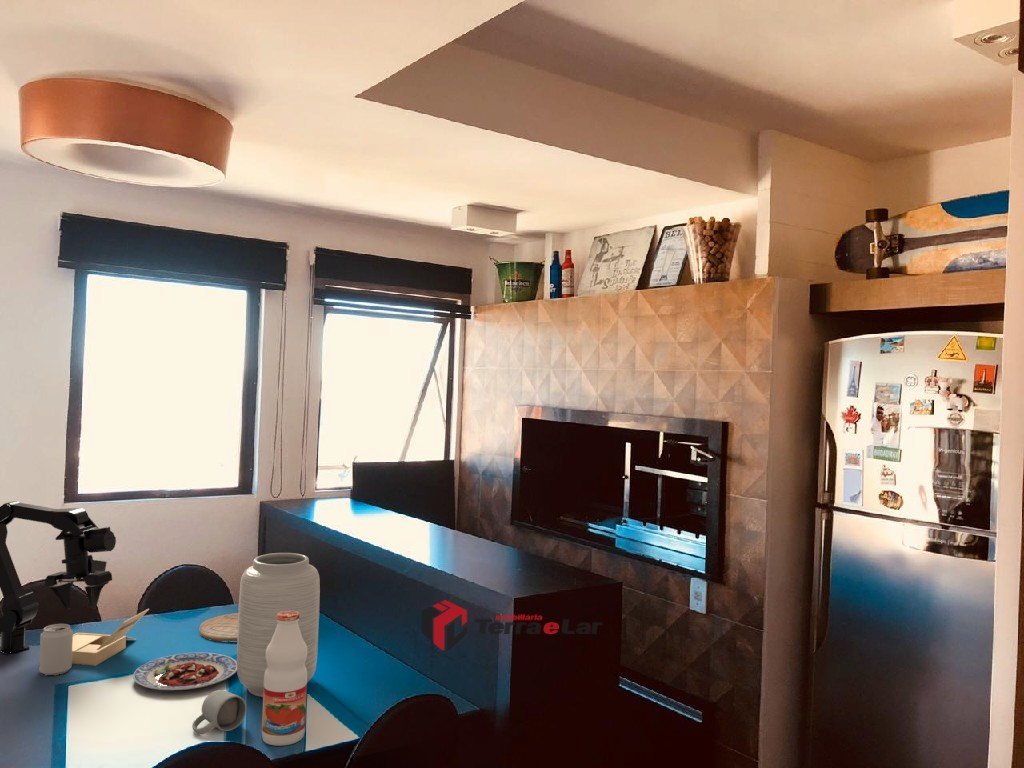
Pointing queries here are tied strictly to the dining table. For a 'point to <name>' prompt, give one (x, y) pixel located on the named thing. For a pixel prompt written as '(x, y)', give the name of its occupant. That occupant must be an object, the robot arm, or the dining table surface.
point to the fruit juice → (285, 683)
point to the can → (56, 649)
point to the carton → (94, 648)
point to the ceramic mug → (221, 712)
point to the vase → (275, 612)
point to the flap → (123, 629)
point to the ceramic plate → (185, 671)
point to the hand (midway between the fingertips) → (81, 608)
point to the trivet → (220, 628)
